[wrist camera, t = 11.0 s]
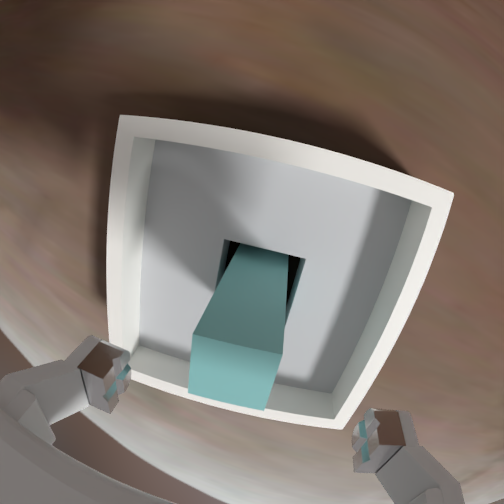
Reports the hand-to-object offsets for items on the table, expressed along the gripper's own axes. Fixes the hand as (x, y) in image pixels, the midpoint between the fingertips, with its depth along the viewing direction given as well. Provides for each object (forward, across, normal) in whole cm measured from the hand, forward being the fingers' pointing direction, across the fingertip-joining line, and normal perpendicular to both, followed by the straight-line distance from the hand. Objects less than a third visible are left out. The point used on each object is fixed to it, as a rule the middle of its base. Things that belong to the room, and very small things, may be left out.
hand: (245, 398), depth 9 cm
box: (+11, +1, 0) cm, 11 cm away
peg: (+11, +1, 0) cm, 11 cm away
